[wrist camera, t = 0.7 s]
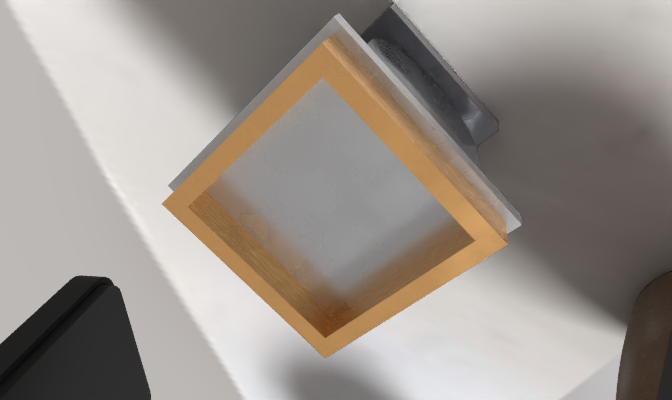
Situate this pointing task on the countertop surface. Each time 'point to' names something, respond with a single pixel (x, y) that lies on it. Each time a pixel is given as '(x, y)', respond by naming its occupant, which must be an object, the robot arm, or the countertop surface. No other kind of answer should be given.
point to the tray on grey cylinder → (349, 182)
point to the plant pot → (646, 342)
